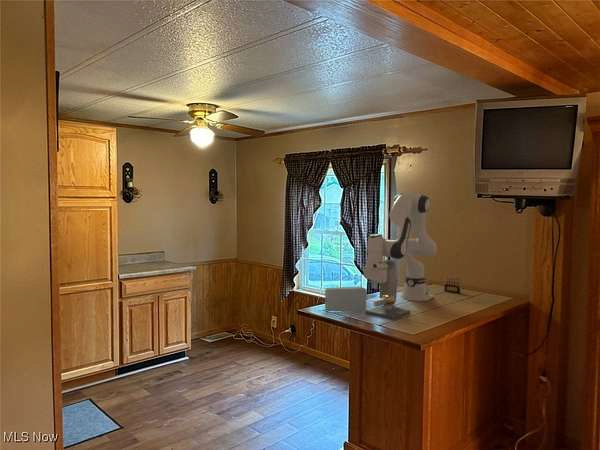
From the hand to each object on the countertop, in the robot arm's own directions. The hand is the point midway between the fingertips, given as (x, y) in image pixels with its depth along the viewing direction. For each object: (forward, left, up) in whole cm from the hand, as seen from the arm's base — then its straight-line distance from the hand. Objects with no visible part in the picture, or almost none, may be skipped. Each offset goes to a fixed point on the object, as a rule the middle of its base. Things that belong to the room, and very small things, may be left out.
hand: (374, 288), depth 247 cm
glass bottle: (-25, -6, -15) cm, 30 cm away
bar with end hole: (+2, -18, -16) cm, 24 cm away
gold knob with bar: (-3, +4, -9) cm, 10 cm away
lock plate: (-8, +4, -15) cm, 18 cm away
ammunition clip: (-91, +7, -16) cm, 93 cm away
